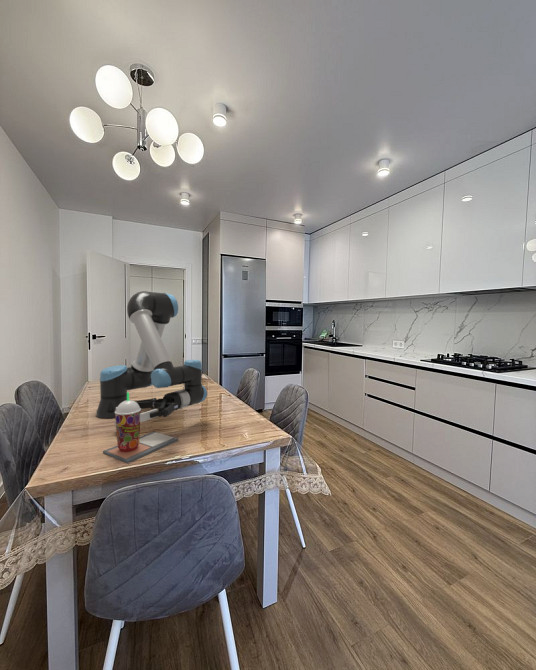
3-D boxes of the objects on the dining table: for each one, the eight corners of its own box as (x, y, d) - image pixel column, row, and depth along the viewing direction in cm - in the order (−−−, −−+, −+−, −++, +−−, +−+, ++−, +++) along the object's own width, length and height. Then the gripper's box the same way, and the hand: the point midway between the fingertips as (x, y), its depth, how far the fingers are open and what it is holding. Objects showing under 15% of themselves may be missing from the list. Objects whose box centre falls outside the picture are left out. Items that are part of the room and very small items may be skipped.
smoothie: (124, 456, 95) (123, 396, 94) (110, 450, 99) (109, 393, 98) (146, 447, 102) (146, 391, 101) (132, 441, 106) (132, 388, 105)
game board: (103, 453, 99) (102, 450, 99) (154, 433, 117) (154, 430, 117) (128, 463, 92) (127, 460, 92) (178, 440, 110) (178, 438, 110)
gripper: (198, 414, 111) (151, 432, 93) (155, 404, 124) (107, 418, 106) (198, 395, 111) (151, 409, 93) (155, 387, 124) (107, 398, 105)
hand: (127, 414), depth 99 cm, fingers open, 13 cm apart
